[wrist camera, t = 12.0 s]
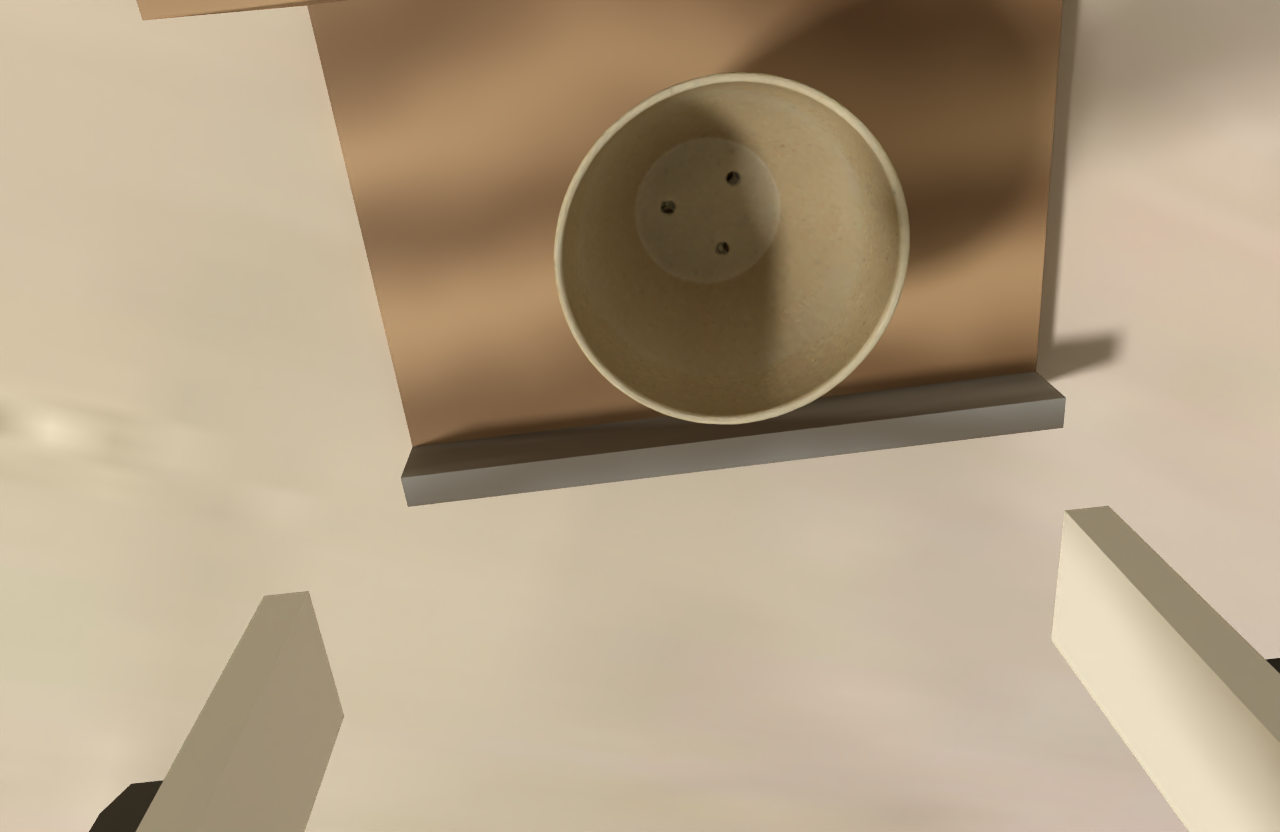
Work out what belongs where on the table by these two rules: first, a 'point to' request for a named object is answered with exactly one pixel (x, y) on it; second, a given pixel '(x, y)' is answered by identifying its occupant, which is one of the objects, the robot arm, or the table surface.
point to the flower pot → (732, 248)
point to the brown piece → (561, 138)
